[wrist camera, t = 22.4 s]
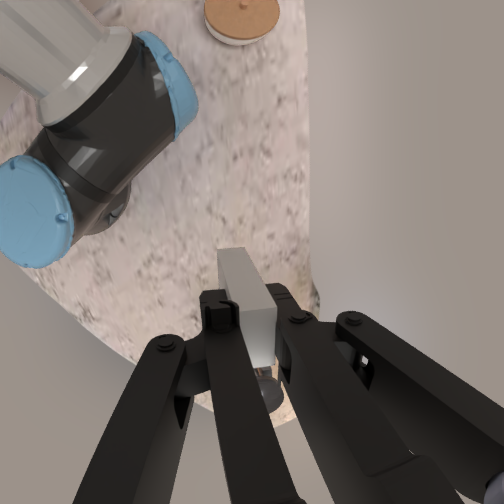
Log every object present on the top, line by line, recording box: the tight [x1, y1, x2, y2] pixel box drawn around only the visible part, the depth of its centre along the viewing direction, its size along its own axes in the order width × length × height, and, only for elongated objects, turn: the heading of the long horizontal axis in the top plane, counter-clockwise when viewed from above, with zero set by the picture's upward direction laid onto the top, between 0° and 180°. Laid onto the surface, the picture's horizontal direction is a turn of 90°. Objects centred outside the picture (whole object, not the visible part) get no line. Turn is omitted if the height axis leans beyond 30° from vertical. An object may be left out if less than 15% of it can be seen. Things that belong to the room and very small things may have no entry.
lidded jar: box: [204, 0, 280, 45], centre depth 35 cm, size 11×11×9 cm
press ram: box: [253, 368, 284, 414], centre depth 37 cm, size 6×6×6 cm
